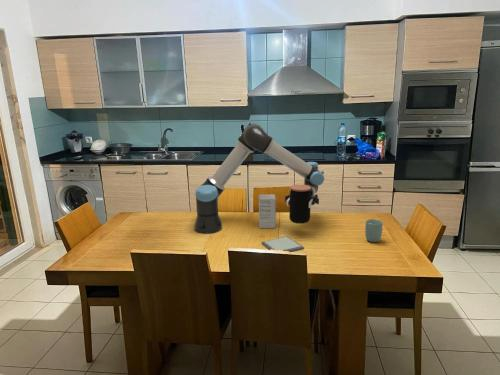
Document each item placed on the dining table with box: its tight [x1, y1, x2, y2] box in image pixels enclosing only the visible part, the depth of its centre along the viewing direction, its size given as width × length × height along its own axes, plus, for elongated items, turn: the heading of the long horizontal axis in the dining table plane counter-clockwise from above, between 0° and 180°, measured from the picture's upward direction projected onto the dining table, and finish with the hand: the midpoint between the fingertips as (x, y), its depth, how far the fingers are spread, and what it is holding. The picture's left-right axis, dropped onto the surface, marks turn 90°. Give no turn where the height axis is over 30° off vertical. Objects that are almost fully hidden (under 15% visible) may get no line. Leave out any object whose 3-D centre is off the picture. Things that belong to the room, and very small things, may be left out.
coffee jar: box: [288, 184, 311, 225], centre depth 189 cm, size 11×11×18 cm
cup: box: [364, 218, 384, 243], centre depth 181 cm, size 8×8×10 cm
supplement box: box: [258, 194, 277, 229], centre depth 205 cm, size 10×9×17 cm
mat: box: [261, 236, 305, 253], centre depth 178 cm, size 15×15×1 cm
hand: (298, 204), depth 185 cm, fingers closed on coffee jar, 11 cm apart
